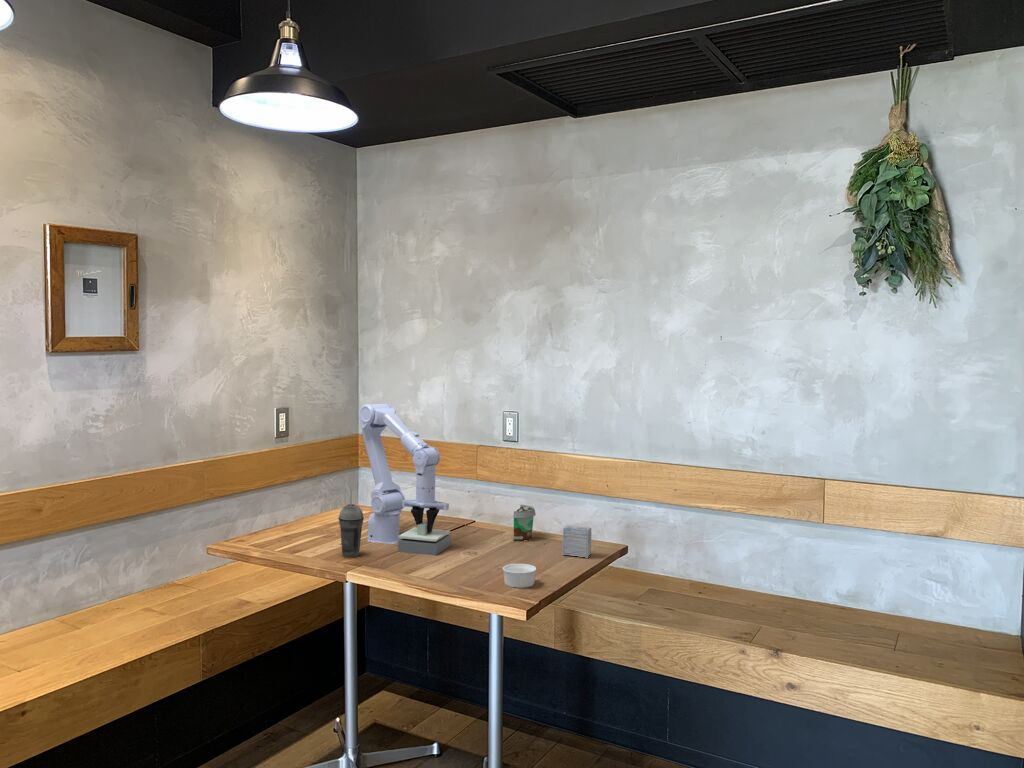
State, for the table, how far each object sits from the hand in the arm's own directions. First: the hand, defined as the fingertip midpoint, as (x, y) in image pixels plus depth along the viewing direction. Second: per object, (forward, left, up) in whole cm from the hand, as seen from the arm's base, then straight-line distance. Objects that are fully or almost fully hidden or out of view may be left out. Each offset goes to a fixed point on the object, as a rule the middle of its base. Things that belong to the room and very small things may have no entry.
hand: (424, 531), depth 234 cm
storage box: (0, 0, -6) cm, 6 cm away
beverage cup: (-17, -15, -6) cm, 23 cm away
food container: (+25, +26, -6) cm, 37 cm away
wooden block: (+2, +2, -5) cm, 6 cm away
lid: (0, 0, -1) cm, 1 cm away
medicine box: (+45, +11, -6) cm, 47 cm away
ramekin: (+36, -22, -6) cm, 43 cm away
